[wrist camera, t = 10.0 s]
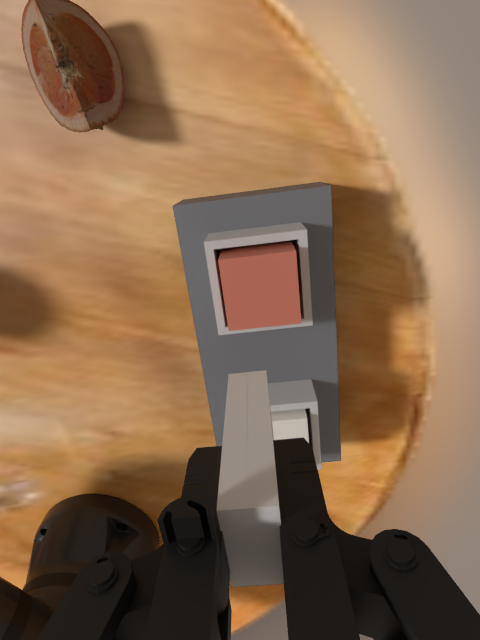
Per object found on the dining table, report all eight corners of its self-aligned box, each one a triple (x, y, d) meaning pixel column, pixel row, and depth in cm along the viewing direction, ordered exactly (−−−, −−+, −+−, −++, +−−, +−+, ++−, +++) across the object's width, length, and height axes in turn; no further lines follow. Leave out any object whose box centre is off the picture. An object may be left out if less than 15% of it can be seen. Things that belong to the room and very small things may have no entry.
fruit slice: (146, 121, 32) (128, 114, 28) (73, 148, 33) (44, 146, 29) (103, 2, 29) (75, -27, 25) (24, 35, 30) (-17, 13, 26)
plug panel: (331, 428, 43) (349, 488, 35) (224, 438, 44) (218, 498, 36) (319, 182, 34) (341, 188, 26) (183, 199, 34) (163, 211, 27)
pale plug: (304, 437, 37) (310, 467, 34) (250, 442, 38) (250, 472, 34) (301, 391, 36) (307, 418, 32) (244, 396, 36) (243, 423, 32)
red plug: (295, 304, 31) (301, 323, 28) (230, 311, 32) (228, 331, 28) (290, 239, 29) (296, 250, 26) (222, 247, 30) (218, 260, 26)
